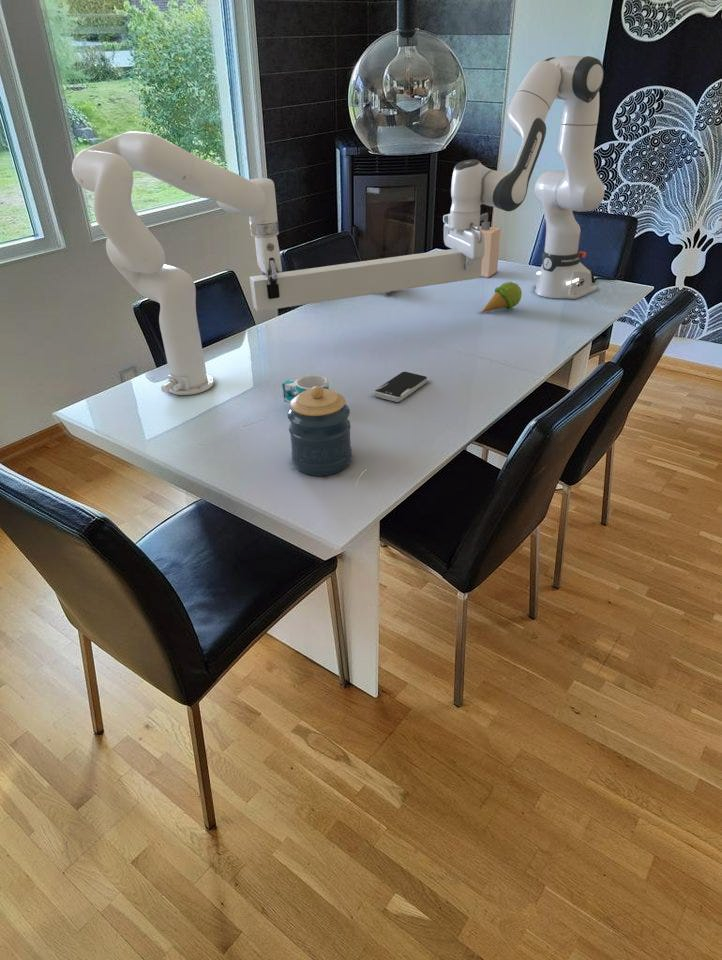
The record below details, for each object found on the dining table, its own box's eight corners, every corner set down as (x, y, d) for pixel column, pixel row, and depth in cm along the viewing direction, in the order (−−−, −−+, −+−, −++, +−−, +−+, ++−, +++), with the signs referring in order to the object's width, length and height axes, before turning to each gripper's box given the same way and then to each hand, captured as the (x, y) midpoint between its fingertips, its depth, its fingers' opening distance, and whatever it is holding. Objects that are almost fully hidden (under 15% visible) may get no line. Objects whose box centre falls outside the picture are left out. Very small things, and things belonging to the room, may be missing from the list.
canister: (282, 471, 142) (273, 395, 133) (307, 442, 152) (301, 370, 143) (338, 481, 138) (333, 404, 129) (360, 451, 148) (358, 377, 139)
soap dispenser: (476, 269, 264) (480, 210, 252) (497, 271, 260) (501, 211, 248) (463, 277, 255) (466, 216, 243) (484, 280, 251) (488, 218, 239)
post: (257, 311, 189) (253, 281, 184) (253, 306, 193) (249, 276, 188) (480, 277, 209) (482, 249, 204) (472, 273, 213) (474, 245, 208)
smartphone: (428, 377, 177) (398, 398, 167) (428, 381, 178) (398, 403, 168) (403, 371, 181) (372, 391, 171) (403, 375, 182) (373, 396, 171)
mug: (318, 422, 160) (315, 391, 156) (277, 412, 166) (274, 381, 161) (336, 409, 166) (334, 377, 162) (297, 399, 171) (294, 368, 167)
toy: (490, 328, 222) (529, 303, 221) (483, 307, 216) (523, 282, 215) (478, 316, 228) (516, 293, 227) (471, 297, 222) (510, 272, 221)
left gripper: (286, 233, 175) (292, 301, 185) (270, 221, 189) (276, 285, 198) (258, 236, 173) (265, 305, 183) (244, 224, 187) (251, 288, 196)
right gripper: (491, 226, 193) (488, 274, 200) (458, 213, 209) (457, 258, 216) (472, 228, 191) (469, 277, 198) (440, 215, 207) (439, 260, 215)
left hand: (271, 294), depth 191 cm, fingers closed on post, 5 cm apart
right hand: (462, 267), depth 207 cm, fingers closed on post, 5 cm apart
